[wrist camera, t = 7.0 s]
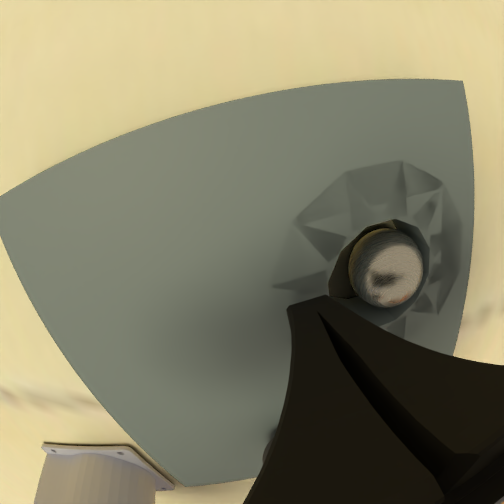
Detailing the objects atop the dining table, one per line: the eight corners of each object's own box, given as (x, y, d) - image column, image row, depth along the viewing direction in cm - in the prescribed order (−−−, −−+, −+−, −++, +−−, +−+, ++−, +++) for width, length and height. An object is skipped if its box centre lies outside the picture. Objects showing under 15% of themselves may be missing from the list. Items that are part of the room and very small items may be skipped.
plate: (185, 459, 17) (185, 486, 15) (23, 188, 10) (-12, 203, 7) (418, 389, 18) (434, 411, 16) (425, 84, 10) (462, 80, 8)
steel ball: (359, 277, 14) (373, 332, 12) (329, 236, 12) (342, 294, 10) (416, 248, 13) (440, 300, 10) (394, 200, 11) (424, 253, 9)
